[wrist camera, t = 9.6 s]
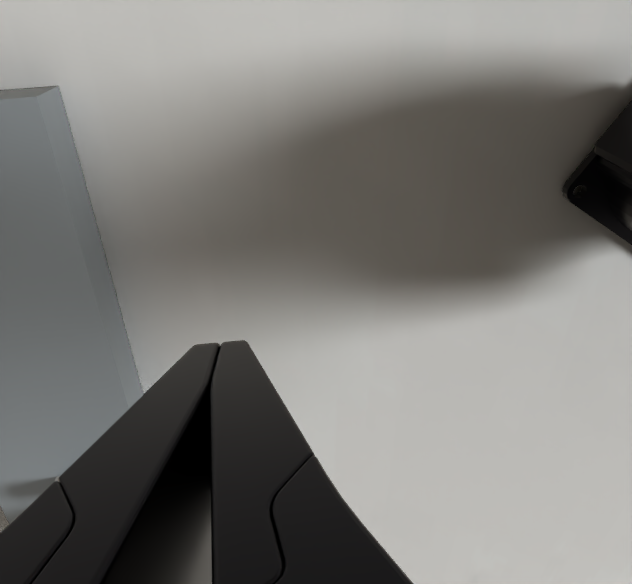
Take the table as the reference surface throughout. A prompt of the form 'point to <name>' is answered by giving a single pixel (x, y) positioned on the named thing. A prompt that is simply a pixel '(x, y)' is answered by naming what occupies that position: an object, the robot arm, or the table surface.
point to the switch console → (52, 305)
